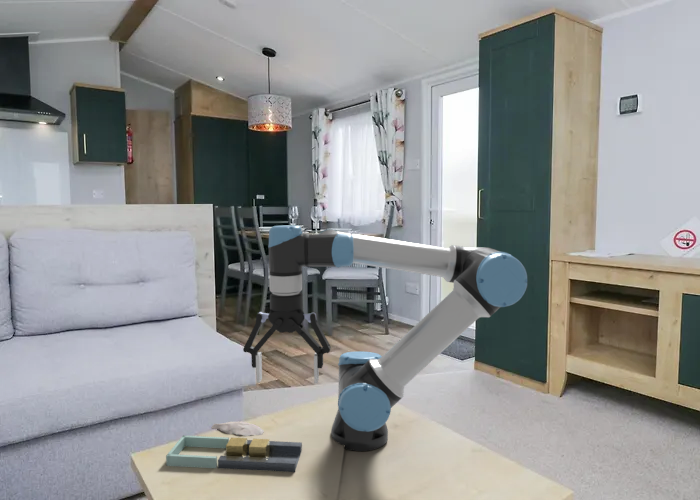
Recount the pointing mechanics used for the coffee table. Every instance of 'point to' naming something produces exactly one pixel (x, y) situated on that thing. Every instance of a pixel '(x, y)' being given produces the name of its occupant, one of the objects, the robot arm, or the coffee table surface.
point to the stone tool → (239, 428)
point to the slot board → (279, 459)
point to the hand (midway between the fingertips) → (287, 381)
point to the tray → (194, 460)
